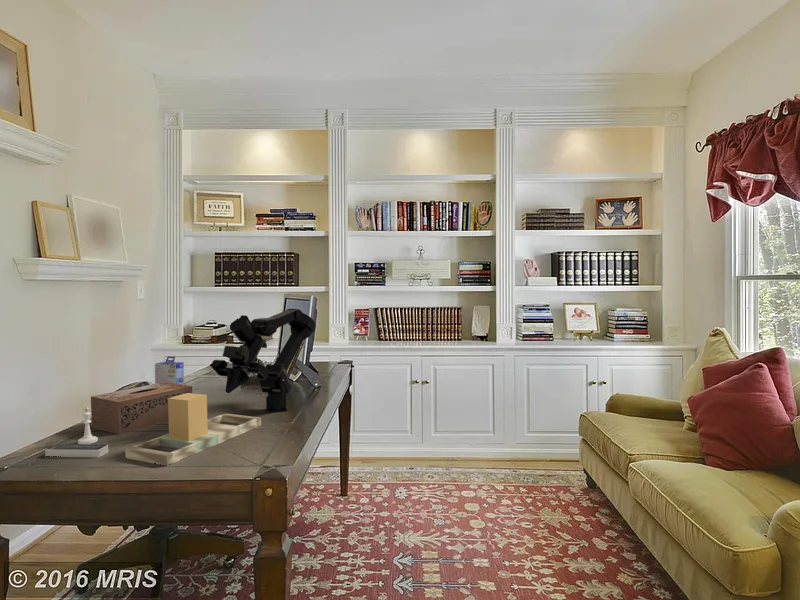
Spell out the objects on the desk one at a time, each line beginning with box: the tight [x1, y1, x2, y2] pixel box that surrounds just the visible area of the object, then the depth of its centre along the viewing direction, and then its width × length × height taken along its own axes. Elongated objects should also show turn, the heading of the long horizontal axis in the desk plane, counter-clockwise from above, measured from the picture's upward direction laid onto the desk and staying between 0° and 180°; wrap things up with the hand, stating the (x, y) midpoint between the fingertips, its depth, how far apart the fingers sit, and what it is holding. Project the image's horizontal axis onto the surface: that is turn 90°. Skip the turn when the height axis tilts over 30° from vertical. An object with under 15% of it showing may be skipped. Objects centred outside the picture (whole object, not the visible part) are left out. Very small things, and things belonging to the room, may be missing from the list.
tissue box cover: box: [90, 382, 193, 435], centre depth 169 cm, size 26×14×10 cm, turn 150°
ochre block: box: [168, 392, 208, 441], centre depth 144 cm, size 7×7×11 cm
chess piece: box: [77, 406, 99, 445], centre depth 147 cm, size 5×5×10 cm
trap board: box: [125, 413, 262, 466], centre depth 148 cm, size 37×14×2 cm, turn 158°
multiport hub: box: [44, 443, 109, 458], centre depth 137 cm, size 4×14×2 cm, turn 88°
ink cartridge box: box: [154, 356, 185, 385], centre depth 209 cm, size 10×6×14 cm, turn 78°
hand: (227, 392), depth 158 cm, fingers closed
